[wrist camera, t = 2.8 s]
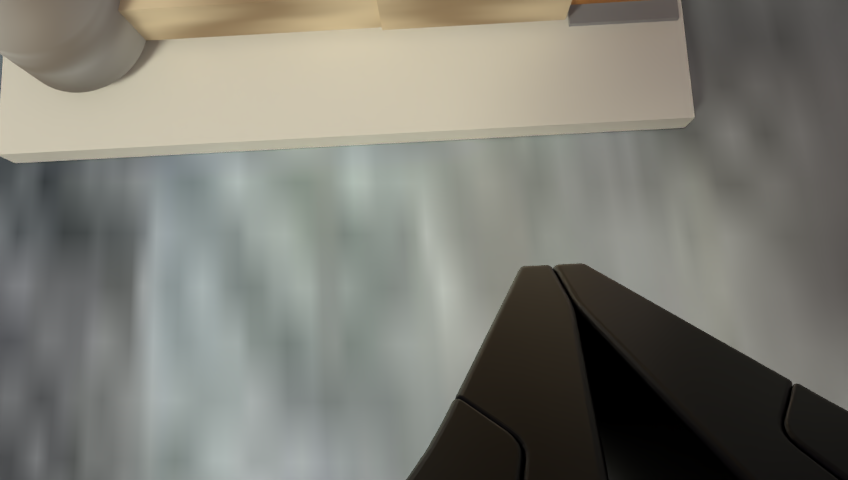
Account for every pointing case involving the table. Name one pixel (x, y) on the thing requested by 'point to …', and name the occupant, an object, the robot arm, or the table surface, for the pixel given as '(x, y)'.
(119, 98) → the dial board
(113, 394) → the table surface
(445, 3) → the lever
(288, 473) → the table surface
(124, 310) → the table surface
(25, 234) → the table surface
